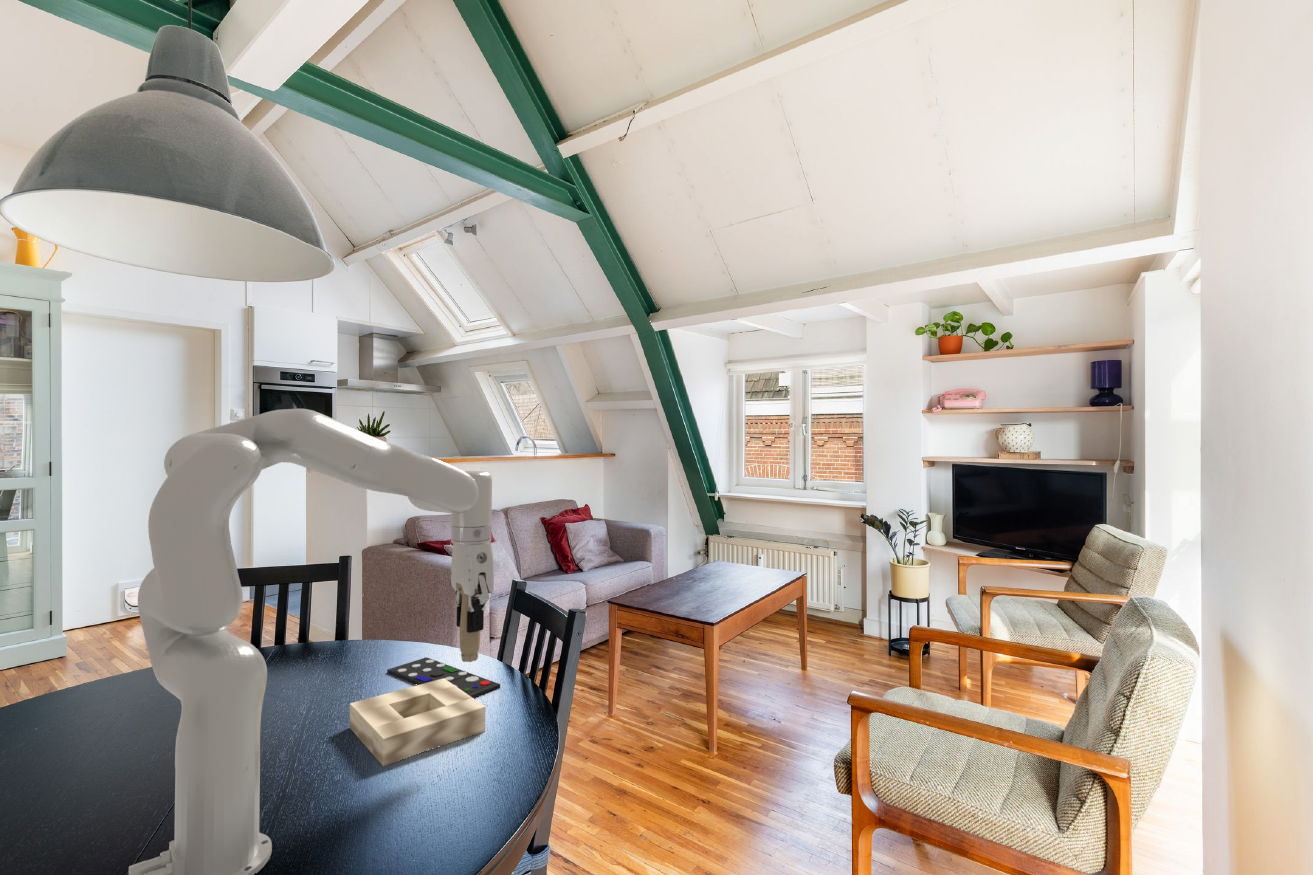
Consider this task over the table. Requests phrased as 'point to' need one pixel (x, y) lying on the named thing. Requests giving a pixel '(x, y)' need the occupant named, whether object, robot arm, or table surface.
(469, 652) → the handle
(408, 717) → the socket block
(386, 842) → the table surface
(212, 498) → the robot arm
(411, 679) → the remote control
